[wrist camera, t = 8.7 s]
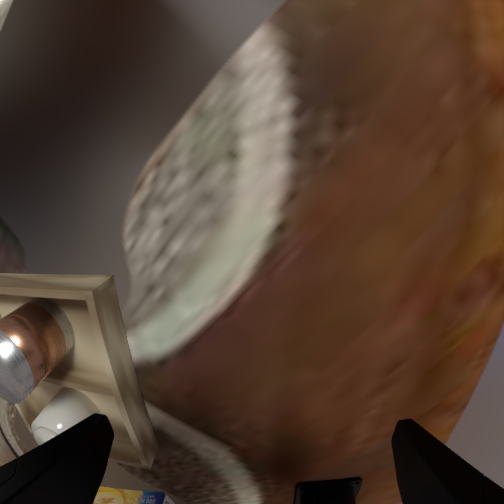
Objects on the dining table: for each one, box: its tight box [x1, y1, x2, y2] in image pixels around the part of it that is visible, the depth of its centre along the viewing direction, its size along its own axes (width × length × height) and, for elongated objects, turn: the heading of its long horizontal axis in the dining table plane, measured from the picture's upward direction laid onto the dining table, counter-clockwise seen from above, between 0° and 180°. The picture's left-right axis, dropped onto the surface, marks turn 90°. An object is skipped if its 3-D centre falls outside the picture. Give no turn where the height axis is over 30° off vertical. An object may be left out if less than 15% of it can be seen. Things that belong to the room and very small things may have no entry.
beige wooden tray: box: [0, 273, 159, 470], centre depth 22 cm, size 17×14×3 cm
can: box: [0, 297, 75, 404], centre depth 18 cm, size 5×5×7 cm
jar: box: [31, 387, 101, 445], centre depth 21 cm, size 5×5×6 cm
